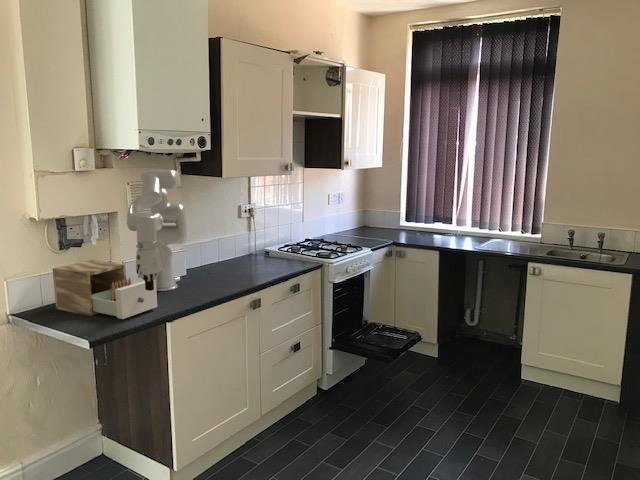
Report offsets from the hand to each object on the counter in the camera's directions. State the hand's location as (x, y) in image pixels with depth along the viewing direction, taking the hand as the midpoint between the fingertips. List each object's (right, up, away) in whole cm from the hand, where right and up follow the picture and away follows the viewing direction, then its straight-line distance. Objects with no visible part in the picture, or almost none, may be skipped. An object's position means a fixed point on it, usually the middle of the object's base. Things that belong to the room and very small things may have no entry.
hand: (149, 289), depth 221 cm
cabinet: (-31, -9, +19) cm, 38 cm away
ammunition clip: (-15, -8, +10) cm, 19 cm away
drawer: (-15, -9, +10) cm, 20 cm away
